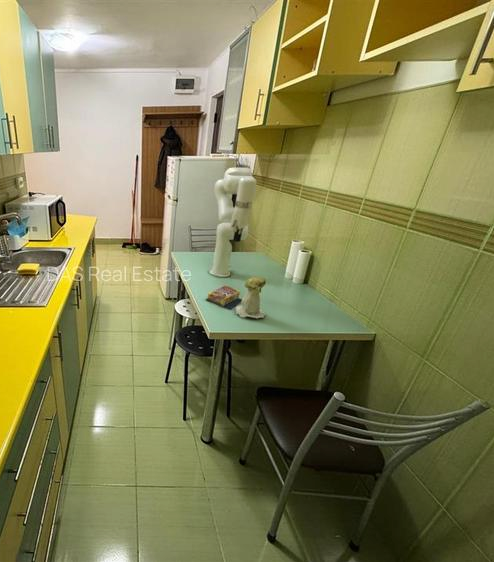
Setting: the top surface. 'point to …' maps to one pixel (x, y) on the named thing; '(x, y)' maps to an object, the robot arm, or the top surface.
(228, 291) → the candy box
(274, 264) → the top surface
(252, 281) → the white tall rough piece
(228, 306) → the mat
